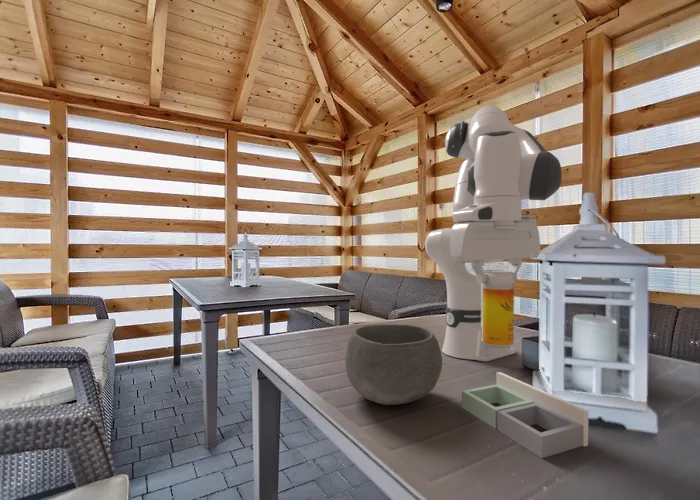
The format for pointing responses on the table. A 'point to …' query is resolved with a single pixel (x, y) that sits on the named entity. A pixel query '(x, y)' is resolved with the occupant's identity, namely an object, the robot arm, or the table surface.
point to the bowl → (393, 362)
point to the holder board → (529, 415)
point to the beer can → (497, 309)
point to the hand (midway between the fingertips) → (496, 282)
